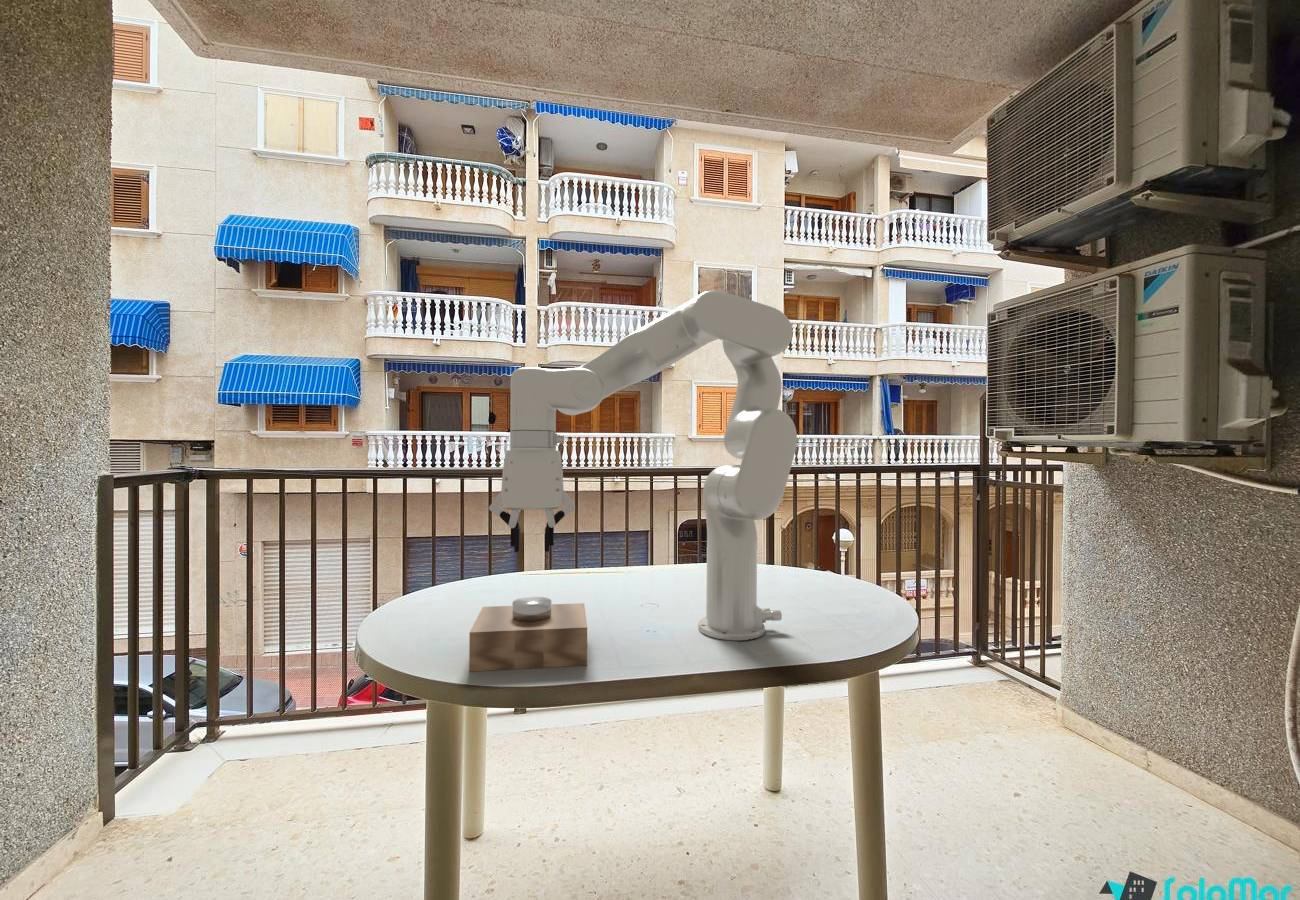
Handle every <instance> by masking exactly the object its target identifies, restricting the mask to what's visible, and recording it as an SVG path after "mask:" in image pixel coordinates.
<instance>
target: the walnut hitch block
mask: <svg viewBox="0 0 1300 900" xmlns="http://www.w3.org/2000/svg"><path fill="white" fill-rule="evenodd" d="M512 616H513V605H500V606H499V605H497V606H482V607H481V610H480V611H479V614H478V615H477V618H476V619H475V621H474V622H473V625H472V627H471V629H470V631H469V649H468V651H469V658H468V659H469V660H468V661H469V662H468V664H469V665H468V666H469V667H468V668H469V669H468V671H469V672H484V671H500V670H501V671H502V670H503V671H504V670H520V669H523V670H524V669H539V668H541V669H542V668H559V667H560V668H561V667H563V668H564V667H579V666H587V665H588V623H587V615H586V607H585V603H583V602H577V603H555V604H553V603H551V617H550V618H549V619H547V620H544V621H539V622H519V621H515V620H513V618H512Z"/></svg>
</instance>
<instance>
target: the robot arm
mask: <svg viewBox="0 0 1300 900" xmlns="http://www.w3.org/2000/svg"><path fill="white" fill-rule="evenodd" d="M792 339H793V327H792V323H791V321H790V319H789V318H788V316H786V315H785V313H783V311H781V310H779V309H778V308H775V307H773V306H769V305H766V304H764V303H761V302H758V301H754V300H752V299H748V298H745V297H741V296H739V295H736V294H732V293H728V292H726V291H719V290H707V291H706V290H705V291H703V292H701V293H700V294H697V295H696V296H695V297H693V298H692V299H690V300H688V301H687V302H684V303H683V304H682V305H679V306H678V307H676V308H674V309H672V310H670V311H669V312H667V313H665V314H663V315H662V316H660V317H657V318H656V319H654V320H652V321H651V322H650V323H647V324H645V325H644V326H642V327H640V328H638V329H636V330H635V331H633V332H631V333H630V334H629V335H626V336H625V337H623V338H622V339H621V340H620V341H618V342H617V343H616V344H614V345H612V346H611V347H610V348H608V349H607V350H606V351H604V352H603V353H601V354H600V355H598V356H595V357H594V358H592V359H591V360H589V361H588V362H586V363H584V364H582V365H581V366H579V367H574V368H573V367H572V368H563V369H547V368H541V367H519V368H516V369H515V370H513V371H512V373H511V375H510V409H509V410H510V414H509V415H510V416H509V417H510V419H509V420H510V421H509V422H510V424H509V425H510V426H509V427H510V433H509V436H510V437H509V438H510V439H509V447H510V448H509V450H507V449H506V451H505V454H504V459H503V460H504V461H503V466H502V467H503V468H502V476H501V490H500V492H499V493H498V494H497V495H496V496H495V498H494V500H493V501H492V502H491V503H490V504H489V506H488V509H489V511H490V512H491V513H493V514H495V515H496V516H498V517H499V518H500V519H501V520H503V522H504V523H506V525H507V526H508V527H509V528H510V547H514V551H513V552H514V553H518V552H520V550H521V526H520V523H519V522H518V521H519V518H520V513H521V511H523V510H524V511H528V510H534V511H537V510H538V511H539V510H544V513H545V516H546V520H547V521H546V526H545V527H544V551H545V552H550V546H555V544H554V542H555V541H554V540H555V537H554V536H555V532H554V531H555V526H556V525H557V524H558V523H559V522H560V521H561V520H562V519H563V518H565V516H567V515H568V514H570V513H571V512H573V511H574V510H575V509H576V505H575V503H574V502H573V501H572V499H571V498H570V497H569V495H568V494H567V492H566V491H565V489H564V471H563V470H564V469H563V459H562V454H561V451H560V450H556V449H557V448H556V446H558V445H560V444H565V435H561V434H558V433H557V432H556V431H557V430H556V429H557V427H556V426H557V425H556V424H557V423H556V422H557V410H558V411H559V412H560V413H562V414H564V415H567V416H578V415H580V414H584V413H588V412H591V411H592V410H594V409H595V408H597V407H598V406H599V405H600V404H601V402H602V401H603V400H604V399H606V398H608V397H610V396H611V395H613V394H615V393H617V392H619V391H621V390H623V389H625V388H626V387H630V386H632V385H634V384H636V383H640V382H642V381H643V382H644V381H645V380H647V379H649V378H651V377H654V375H657V374H658V373H661V372H662V371H663V370H665V369H667V368H668V367H670V366H672V365H673V364H675V363H676V362H678V361H680V360H682V359H683V358H685V357H687V356H689V355H690V354H693V352H695V351H697V350H699V349H700V348H703V347H704V346H706V345H707V344H710V343H711V342H714V341H717V340H719V341H722V349H723V351H724V354H725V356H726V357H727V359H728V360H729V362H730V363H731V364H732V366H733V369H734V370H735V374H736V377H737V385H736V386H737V387H736V391H735V396H734V400H733V403H732V407H731V410H730V414H729V417H728V420H727V425H726V428H725V432H724V435H723V443H724V447H725V450H726V452H727V453H728V454H729V455H730V456H732V457H734V458H736V459H740V460H741V462H740V464H725V465H720V466H718V467H716V468H714V469H713V470H712V471H711V472H710V473H709V474H708V475H707V477H706V479H705V481H704V482H703V483H704V484H703V491H702V497H703V499H702V500H703V506H704V513H705V521H706V606H705V607H706V609H705V610H706V615H705V616H706V617H703V618H702V619H700V620H699V621H698V626H697V627H698V630H699V632H700V633H702V634H703V635H705V636H707V637H710V638H714V639H719V640H724V641H749V639H750V640H755V639H757V638H760V637H762V636H763V635H764V634H765V633H766V627H765V623H767V621H771V622H776V621H782V618H783V617H782V616H783V615H782V612H781V610H780V609H776V610H774V609H773V610H771V609H770V608H769V607H768V608H767V607H766V608H765V607H764V608H761V607H759V606H758V602H757V601H758V600H757V598H758V593H757V592H758V589H757V588H758V585H757V584H758V582H757V581H758V575H757V574H758V532H757V527H756V521H761V520H766V519H767V518H769V517H771V516H772V515H773V514H774V513H775V512H776V511H777V510H778V508H779V506H780V505H781V502H782V499H783V497H784V494H785V490H786V487H787V483H788V480H789V475H790V472H791V469H792V465H793V461H794V458H795V454H796V450H797V444H798V435H797V434H798V433H797V429H796V426H795V422H794V421H793V419H792V418H791V416H790V415H789V414H787V412H785V411H783V410H781V409H779V405H780V400H781V395H782V379H781V375H780V372H779V370H778V367H777V365H776V363H775V362H774V359H773V358H772V357H774V356H777V355H780V354H781V353H783V352H784V351H785V350H787V348H788V346H790V344H791V341H792ZM562 504H564V507H562V506H563V505H562ZM501 506H502V507H503V508H505V509H507V510H511V512H510V513H509V512H508V511H507V510H505V509H503V508H502V507H501ZM560 507H562V508H561V509H559V508H560ZM555 509H559V510H558V511H557V512H556V513H554V510H555ZM764 632H765V633H764ZM754 638H755V639H754Z"/></svg>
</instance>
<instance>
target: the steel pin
mask: <svg viewBox="0 0 1300 900" xmlns="http://www.w3.org/2000/svg"><path fill="white" fill-rule="evenodd" d="M551 604H552V599H551V598H548V597H544V596H524V597H521V598H517V599H515V600H513V601H512V606H513V616H512V618H513V620H515V621H519V622H539V621H544V620H547V619H549V618H550V617H551Z"/></svg>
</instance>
